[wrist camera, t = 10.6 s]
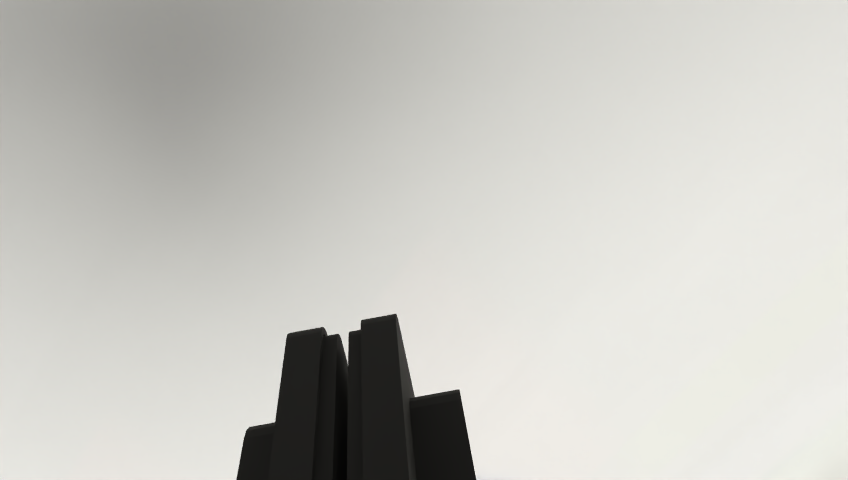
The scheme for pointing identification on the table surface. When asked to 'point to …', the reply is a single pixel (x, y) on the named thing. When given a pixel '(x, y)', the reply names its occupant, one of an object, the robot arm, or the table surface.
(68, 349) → the table surface
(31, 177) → the table surface
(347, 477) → the robot arm
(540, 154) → the table surface
